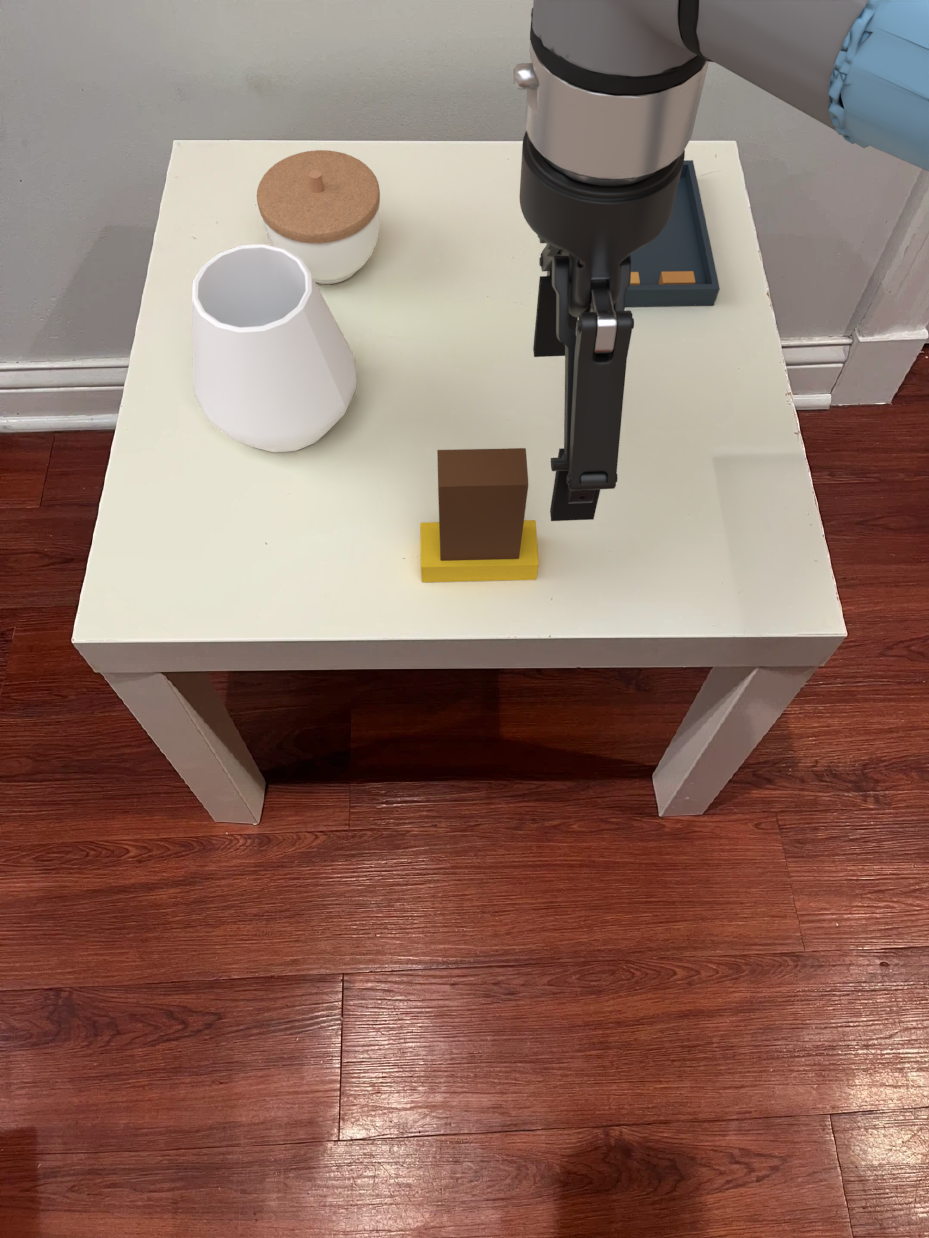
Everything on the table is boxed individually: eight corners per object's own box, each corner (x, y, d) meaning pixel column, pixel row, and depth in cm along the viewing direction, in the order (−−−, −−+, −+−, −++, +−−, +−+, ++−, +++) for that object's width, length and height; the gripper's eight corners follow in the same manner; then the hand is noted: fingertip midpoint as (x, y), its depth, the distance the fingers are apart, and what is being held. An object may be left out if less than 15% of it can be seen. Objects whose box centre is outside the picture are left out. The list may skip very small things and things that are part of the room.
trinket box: (252, 283, 84) (229, 197, 76) (303, 209, 88) (287, 120, 80) (356, 316, 82) (345, 232, 74) (403, 239, 87) (397, 151, 78)
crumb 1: (637, 294, 83) (640, 283, 82) (605, 295, 83) (607, 283, 82) (635, 283, 84) (638, 271, 82) (603, 284, 84) (605, 272, 82)
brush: (533, 536, 72) (547, 441, 61) (536, 580, 71) (551, 490, 59) (421, 538, 72) (415, 444, 61) (421, 582, 70) (415, 493, 59)
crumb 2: (692, 293, 83) (695, 282, 82) (660, 294, 83) (663, 282, 82) (690, 282, 84) (693, 271, 83) (658, 283, 84) (661, 271, 82)
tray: (713, 305, 83) (719, 288, 81) (583, 308, 83) (585, 290, 81) (688, 178, 91) (693, 160, 89) (567, 180, 91) (570, 161, 89)
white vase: (263, 329, 82) (228, 197, 69) (390, 385, 79) (378, 259, 66) (174, 434, 76) (119, 312, 64) (307, 497, 74) (277, 384, 61)
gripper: (505, -20, 47) (494, 295, 66) (546, 345, 35) (519, 596, 54) (649, -24, 47) (597, 291, 66) (735, 338, 36) (642, 591, 55)
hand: (561, 430), depth 60 cm, fingers open, 13 cm apart
